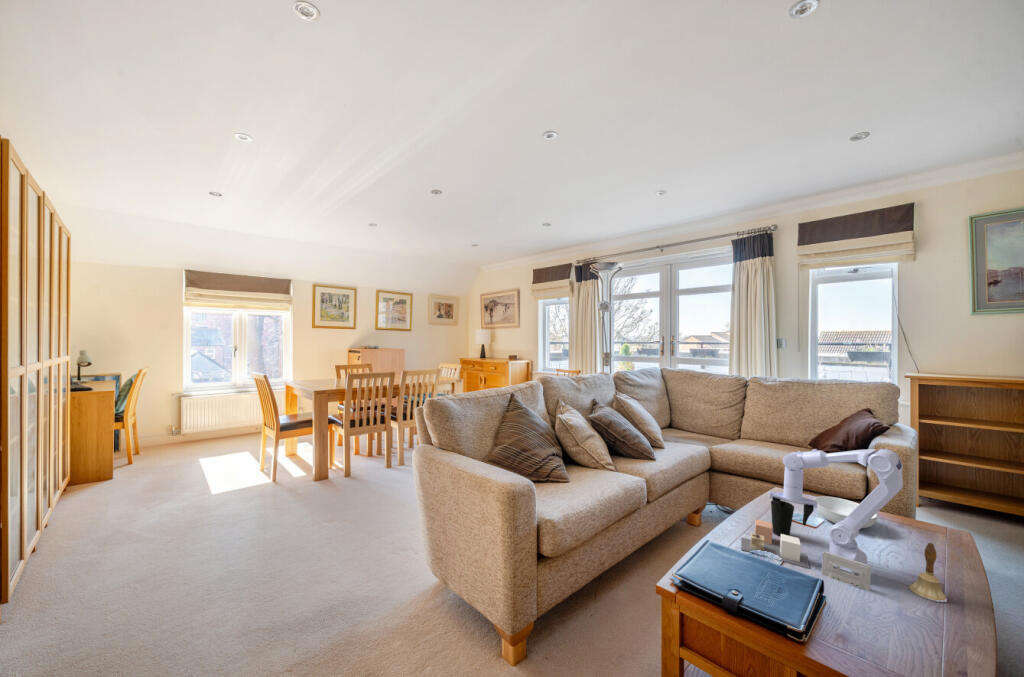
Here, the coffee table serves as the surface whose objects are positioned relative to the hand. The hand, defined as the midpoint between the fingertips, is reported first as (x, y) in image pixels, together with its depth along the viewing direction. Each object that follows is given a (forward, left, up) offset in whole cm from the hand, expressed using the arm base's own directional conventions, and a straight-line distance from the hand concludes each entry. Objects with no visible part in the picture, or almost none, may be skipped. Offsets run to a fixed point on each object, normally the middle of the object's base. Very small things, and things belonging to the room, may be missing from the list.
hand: (791, 521), depth 147 cm
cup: (+9, -6, -10) cm, 15 cm away
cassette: (-20, +1, -10) cm, 22 cm away
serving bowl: (+12, -43, -10) cm, 46 cm away
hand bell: (-30, -19, -10) cm, 37 cm away
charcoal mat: (-1, +10, -10) cm, 14 cm away
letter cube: (+2, +13, -10) cm, 16 cm away
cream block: (-5, +6, -10) cm, 12 cm away
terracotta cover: (+7, +5, -10) cm, 13 cm away
